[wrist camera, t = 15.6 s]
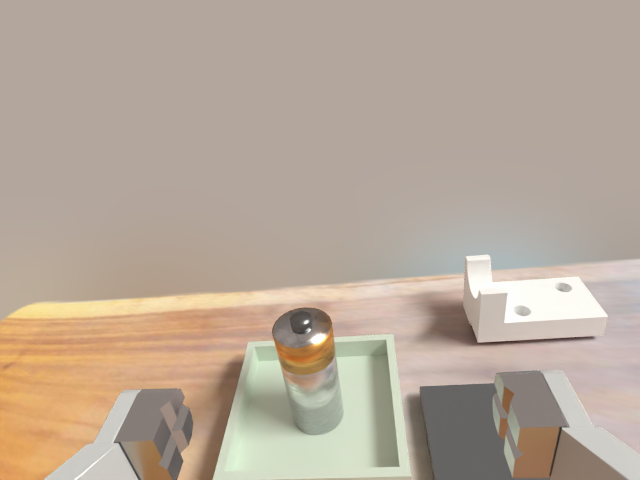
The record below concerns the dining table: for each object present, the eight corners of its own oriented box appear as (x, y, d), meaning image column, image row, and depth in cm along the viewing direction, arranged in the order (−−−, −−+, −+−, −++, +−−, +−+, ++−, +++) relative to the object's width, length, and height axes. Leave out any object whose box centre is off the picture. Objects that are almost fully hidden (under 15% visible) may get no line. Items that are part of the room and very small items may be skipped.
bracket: (477, 348, 50) (481, 294, 46) (463, 307, 56) (465, 256, 52) (601, 342, 49) (616, 285, 45) (573, 300, 55) (584, 247, 51)
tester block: (436, 497, 37) (437, 473, 35) (419, 397, 45) (419, 374, 44) (566, 495, 36) (573, 470, 34) (524, 392, 44) (528, 368, 43)
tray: (220, 501, 39) (212, 480, 37) (253, 361, 52) (248, 342, 51) (411, 498, 37) (411, 476, 35) (394, 354, 51) (393, 333, 49)
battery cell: (289, 436, 42) (265, 341, 36) (294, 392, 47) (274, 300, 41) (343, 435, 42) (329, 337, 36) (344, 390, 46) (331, 296, 40)
